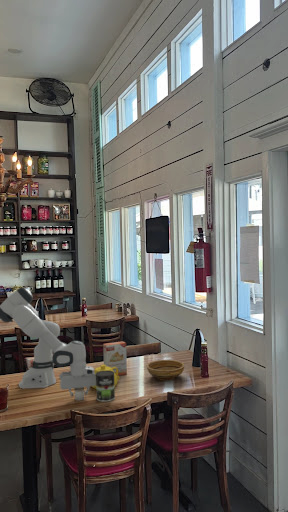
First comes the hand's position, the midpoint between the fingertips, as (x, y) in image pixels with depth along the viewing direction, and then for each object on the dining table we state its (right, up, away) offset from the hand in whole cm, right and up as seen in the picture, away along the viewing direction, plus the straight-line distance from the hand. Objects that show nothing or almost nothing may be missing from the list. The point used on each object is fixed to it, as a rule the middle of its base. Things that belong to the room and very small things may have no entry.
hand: (79, 395), depth 241 cm
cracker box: (+18, 0, +41) cm, 44 cm away
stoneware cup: (0, -2, 0) cm, 2 cm away
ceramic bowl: (+50, 0, +33) cm, 59 cm away
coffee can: (+15, -2, 0) cm, 15 cm away
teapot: (+14, -1, +19) cm, 24 cm away
